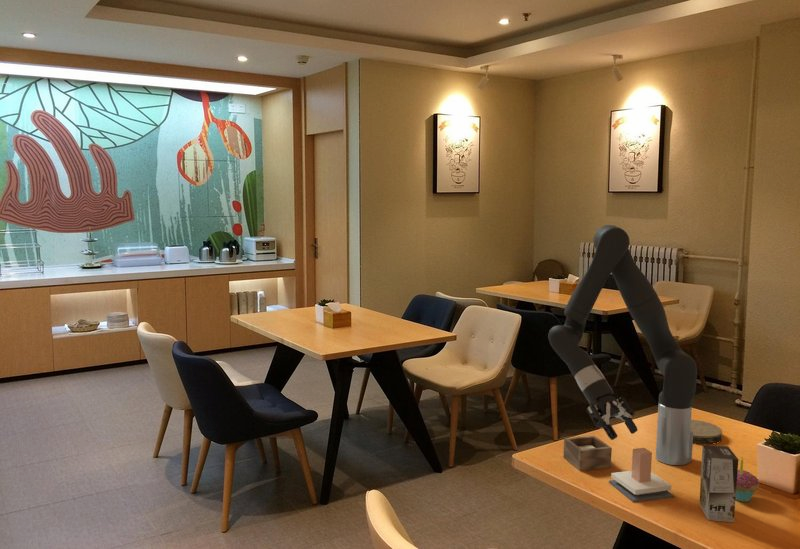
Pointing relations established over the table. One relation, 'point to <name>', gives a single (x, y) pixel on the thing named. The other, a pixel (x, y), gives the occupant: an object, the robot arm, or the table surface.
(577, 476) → the table surface
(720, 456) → the coffee box
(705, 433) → the tin can
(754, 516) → the table surface
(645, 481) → the lid
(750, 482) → the cupcake
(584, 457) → the box
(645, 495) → the mat
